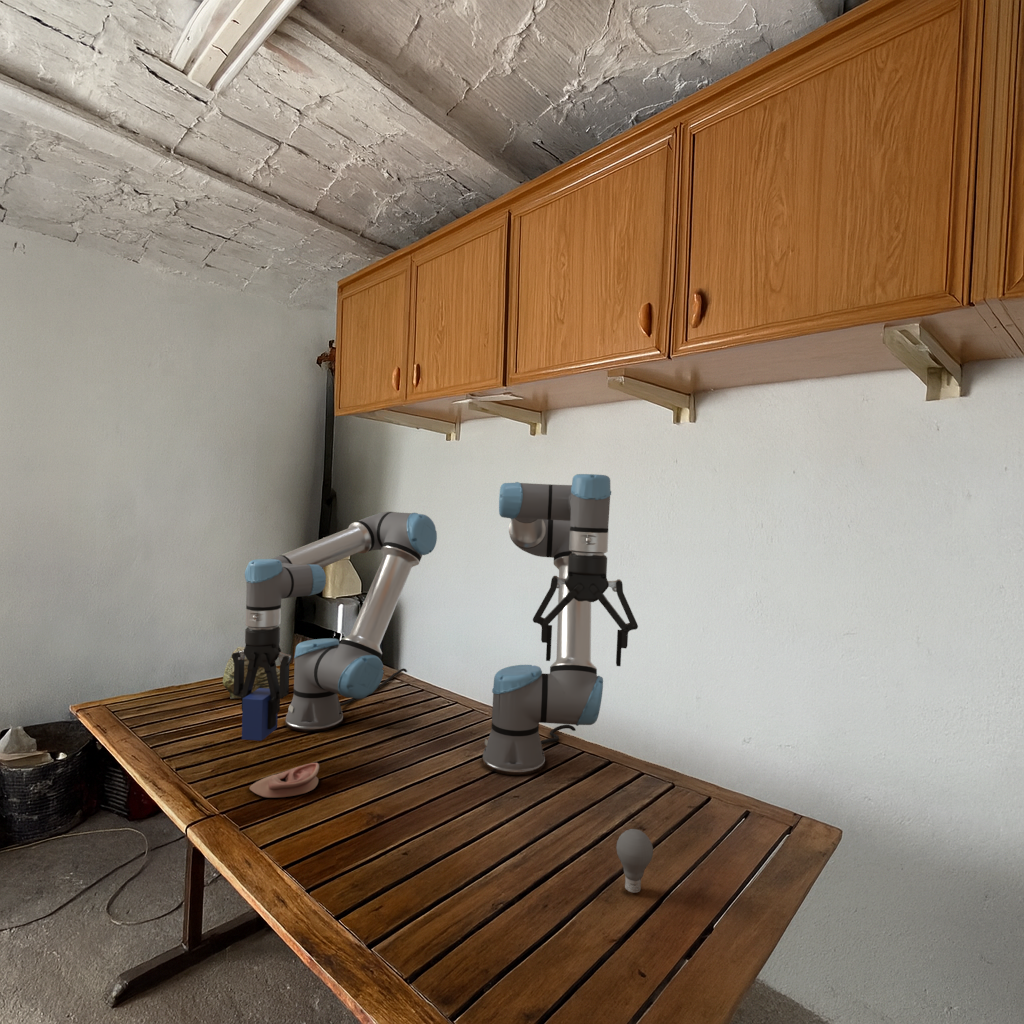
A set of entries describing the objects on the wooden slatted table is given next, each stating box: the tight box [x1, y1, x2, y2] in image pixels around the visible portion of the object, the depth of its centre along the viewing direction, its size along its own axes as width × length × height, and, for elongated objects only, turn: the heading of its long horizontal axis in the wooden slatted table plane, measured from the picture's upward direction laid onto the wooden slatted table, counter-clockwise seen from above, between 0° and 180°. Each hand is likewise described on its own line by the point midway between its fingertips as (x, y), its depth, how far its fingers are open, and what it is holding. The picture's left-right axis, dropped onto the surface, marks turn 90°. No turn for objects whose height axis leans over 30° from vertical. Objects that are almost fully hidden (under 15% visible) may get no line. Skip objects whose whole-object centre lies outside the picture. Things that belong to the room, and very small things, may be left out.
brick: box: [241, 688, 279, 742], centre depth 147 cm, size 5×8×9 cm, turn 175°
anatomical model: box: [249, 762, 320, 799], centre depth 137 cm, size 13×4×12 cm
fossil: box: [222, 646, 280, 699], centre depth 198 cm, size 9×18×15 cm, turn 132°
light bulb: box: [615, 828, 654, 894], centre depth 106 cm, size 6×6×10 cm
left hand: (260, 726), depth 147 cm, fingers closed on brick, 5 cm apart
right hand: (583, 662), depth 124 cm, fingers open, 13 cm apart
